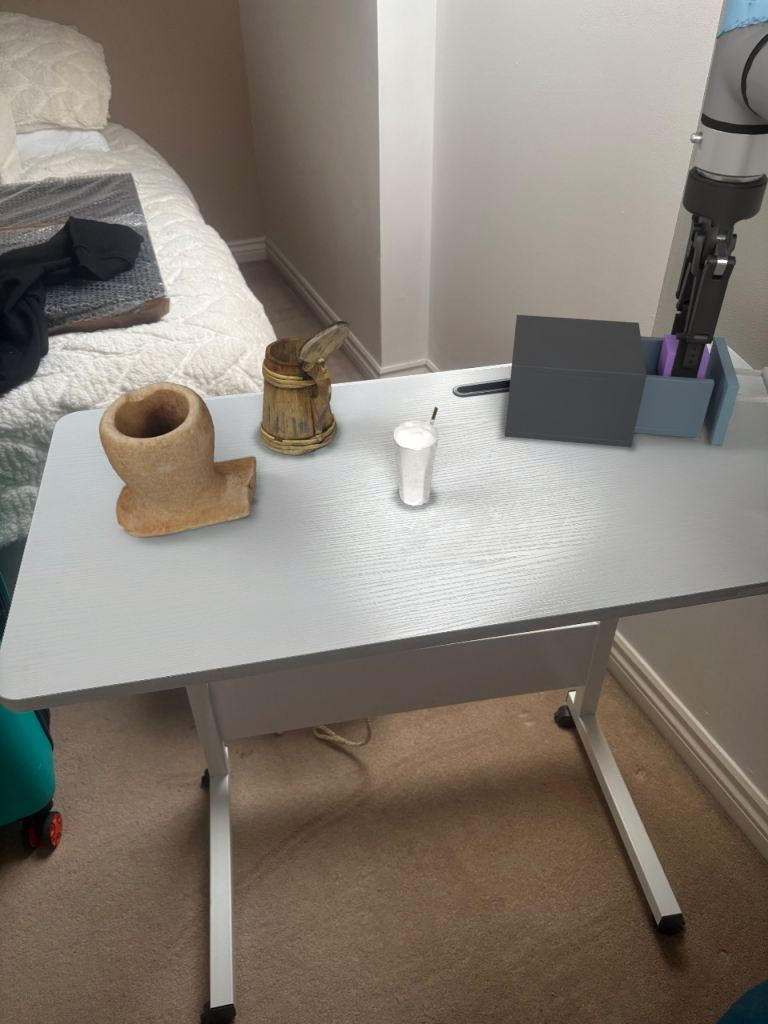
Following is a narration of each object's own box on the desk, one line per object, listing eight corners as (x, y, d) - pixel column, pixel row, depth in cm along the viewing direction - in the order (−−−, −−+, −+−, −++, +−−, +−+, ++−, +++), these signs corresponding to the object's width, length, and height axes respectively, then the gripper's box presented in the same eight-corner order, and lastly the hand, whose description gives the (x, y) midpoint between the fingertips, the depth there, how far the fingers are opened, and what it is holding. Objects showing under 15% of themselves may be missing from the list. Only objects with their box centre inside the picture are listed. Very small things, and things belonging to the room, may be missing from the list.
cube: (696, 370, 98) (705, 336, 95) (700, 390, 95) (710, 355, 92) (657, 368, 99) (664, 333, 96) (660, 387, 95) (668, 352, 93)
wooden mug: (311, 484, 92) (299, 336, 80) (246, 431, 100) (227, 290, 88) (374, 454, 96) (371, 309, 84) (307, 405, 104) (296, 268, 93)
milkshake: (449, 493, 90) (453, 415, 84) (415, 515, 87) (416, 436, 81) (419, 475, 93) (421, 398, 86) (385, 496, 90) (384, 418, 83)
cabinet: (624, 391, 106) (638, 322, 100) (630, 447, 96) (646, 374, 90) (510, 382, 108) (516, 314, 102) (504, 436, 98) (511, 365, 92)
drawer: (758, 397, 103) (776, 340, 98) (776, 450, 94) (797, 390, 89) (598, 385, 105) (608, 329, 100) (601, 435, 97) (612, 376, 92)
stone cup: (119, 564, 82) (82, 438, 72) (119, 492, 91) (86, 371, 81) (272, 539, 84) (256, 414, 75) (257, 471, 93) (241, 352, 84)
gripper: (680, 142, 89) (640, 339, 104) (701, 198, 76) (651, 414, 91) (753, 145, 88) (702, 343, 103) (787, 202, 75) (722, 420, 90)
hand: (678, 376), depth 97 cm, fingers closed on cube, 4 cm apart
